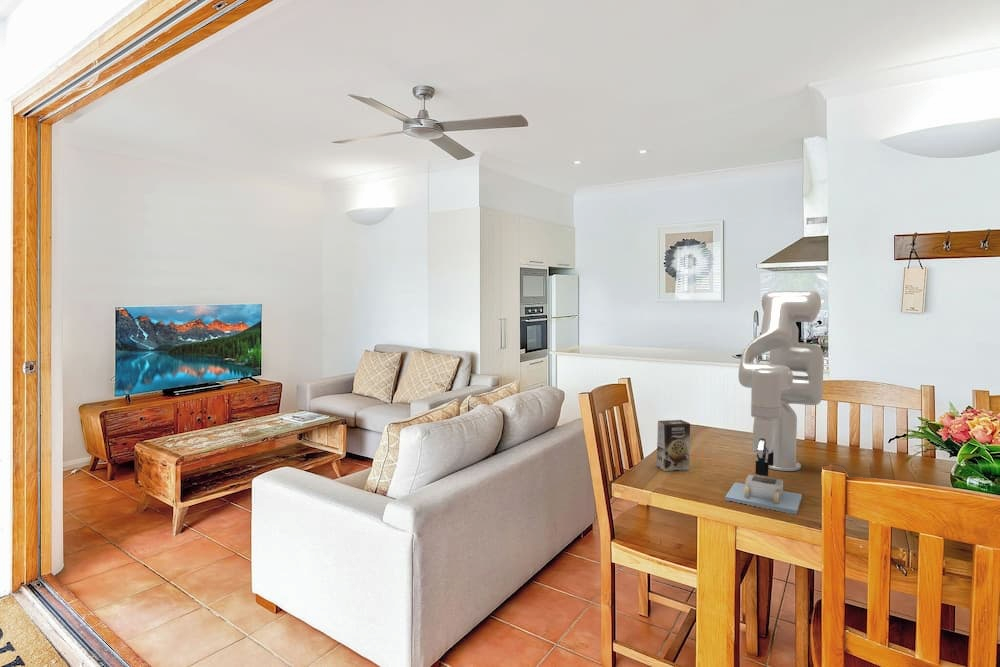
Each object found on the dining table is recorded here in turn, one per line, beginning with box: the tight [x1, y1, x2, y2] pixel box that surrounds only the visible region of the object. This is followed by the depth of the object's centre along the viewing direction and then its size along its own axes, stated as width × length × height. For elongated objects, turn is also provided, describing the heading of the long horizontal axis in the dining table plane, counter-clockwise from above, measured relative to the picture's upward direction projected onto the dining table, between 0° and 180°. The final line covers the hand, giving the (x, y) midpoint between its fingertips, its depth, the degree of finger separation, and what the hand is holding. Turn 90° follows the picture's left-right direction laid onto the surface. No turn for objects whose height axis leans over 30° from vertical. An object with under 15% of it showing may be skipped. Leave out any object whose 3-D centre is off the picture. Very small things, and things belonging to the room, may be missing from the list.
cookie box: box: [656, 419, 691, 472], centre depth 179 cm, size 9×6×16 cm
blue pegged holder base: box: [724, 482, 803, 516], centre depth 151 cm, size 14×18×4 cm
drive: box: [744, 474, 784, 502], centre depth 151 cm, size 6×9×5 cm, turn 56°
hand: (764, 469), depth 151 cm, fingers open, 9 cm apart
